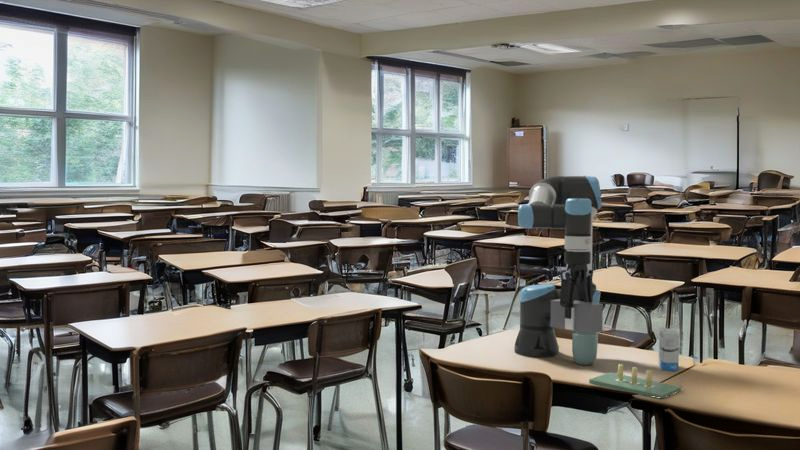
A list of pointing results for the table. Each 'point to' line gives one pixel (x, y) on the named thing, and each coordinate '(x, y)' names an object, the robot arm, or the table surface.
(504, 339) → the table surface
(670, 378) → the table surface
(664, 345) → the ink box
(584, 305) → the block
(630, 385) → the header
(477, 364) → the table surface
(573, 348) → the cup
